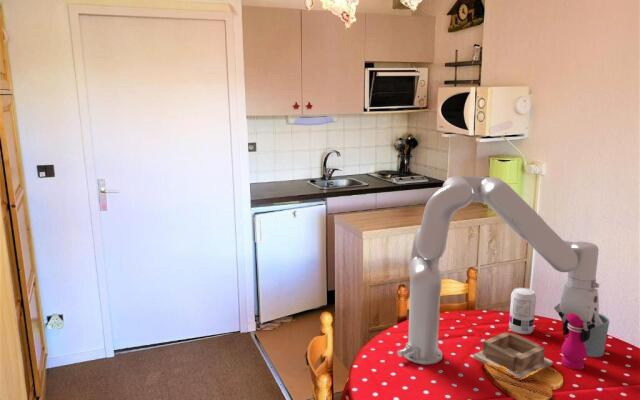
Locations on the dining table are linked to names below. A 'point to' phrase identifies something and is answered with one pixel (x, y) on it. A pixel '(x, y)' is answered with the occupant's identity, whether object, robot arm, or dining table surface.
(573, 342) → the pepper mill
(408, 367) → the dining table surface
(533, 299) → the supplement can
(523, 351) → the stand
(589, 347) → the grey cylindrical pot
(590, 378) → the dining table surface
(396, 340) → the dining table surface
